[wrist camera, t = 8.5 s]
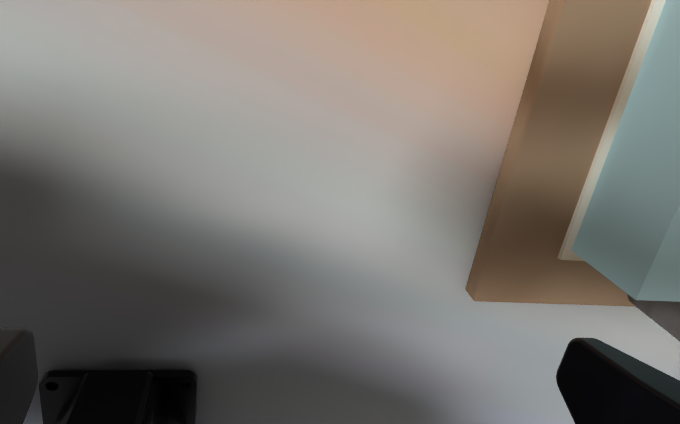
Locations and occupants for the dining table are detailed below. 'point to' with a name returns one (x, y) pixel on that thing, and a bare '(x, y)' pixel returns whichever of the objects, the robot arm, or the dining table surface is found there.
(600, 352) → the robot arm
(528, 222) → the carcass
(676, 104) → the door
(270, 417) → the dining table surface
